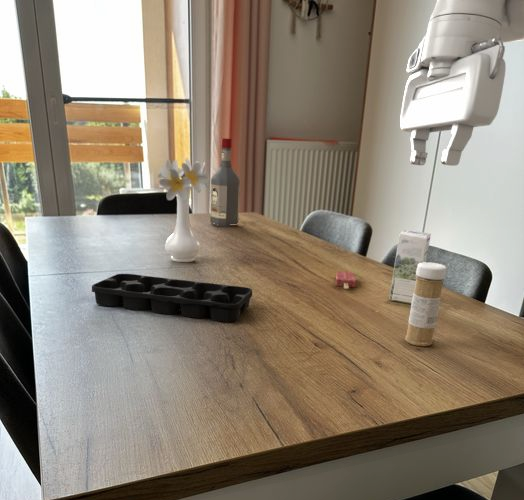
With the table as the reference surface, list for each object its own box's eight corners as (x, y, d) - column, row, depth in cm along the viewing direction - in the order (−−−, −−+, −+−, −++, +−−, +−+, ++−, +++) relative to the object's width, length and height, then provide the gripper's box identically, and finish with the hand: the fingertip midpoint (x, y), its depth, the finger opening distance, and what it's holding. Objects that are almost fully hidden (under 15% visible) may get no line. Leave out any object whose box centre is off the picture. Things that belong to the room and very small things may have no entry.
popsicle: (336, 283, 114) (335, 269, 128) (336, 291, 114) (335, 276, 128) (357, 285, 113) (354, 271, 127) (356, 293, 114) (353, 278, 128)
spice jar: (423, 337, 90) (437, 261, 85) (437, 346, 86) (453, 268, 81) (399, 338, 89) (412, 261, 84) (413, 348, 85) (427, 268, 80)
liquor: (226, 222, 199) (229, 138, 188) (241, 225, 193) (244, 139, 181) (207, 223, 194) (208, 137, 182) (221, 227, 187) (223, 138, 176)
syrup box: (419, 299, 113) (431, 232, 107) (415, 305, 108) (427, 236, 102) (393, 294, 115) (404, 229, 109) (388, 301, 110) (398, 232, 104)
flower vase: (157, 268, 125) (154, 159, 116) (161, 252, 142) (159, 156, 133) (210, 269, 127) (212, 162, 118) (208, 253, 144) (210, 158, 135)
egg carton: (109, 288, 107) (108, 271, 105) (253, 297, 107) (253, 279, 106) (80, 315, 91) (78, 295, 89) (249, 325, 91) (250, 304, 89)
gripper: (532, 38, 57) (496, 169, 61) (442, 69, 76) (420, 167, 80) (481, 26, 56) (448, 161, 60) (403, 61, 75) (382, 161, 79)
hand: (432, 165), depth 70 cm, fingers open, 8 cm apart
